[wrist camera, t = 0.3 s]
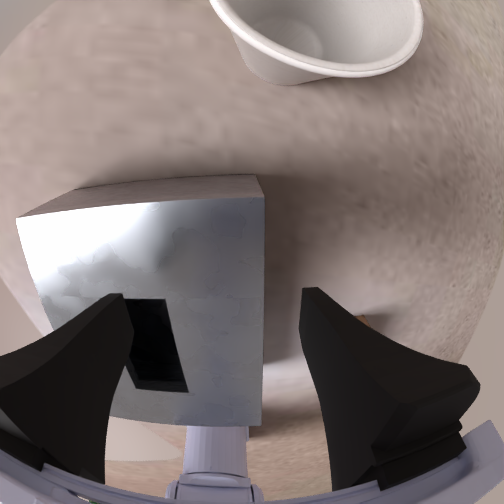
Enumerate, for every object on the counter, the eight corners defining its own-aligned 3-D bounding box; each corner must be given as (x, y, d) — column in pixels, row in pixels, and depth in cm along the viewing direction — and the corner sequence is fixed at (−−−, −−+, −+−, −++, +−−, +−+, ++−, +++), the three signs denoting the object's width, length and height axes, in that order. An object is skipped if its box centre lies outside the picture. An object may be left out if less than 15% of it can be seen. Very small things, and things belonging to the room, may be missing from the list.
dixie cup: (194, 53, 14) (153, -17, 5) (277, -15, 12) (306, -98, 3) (287, 129, 17) (342, 125, 8) (363, 57, 14) (453, 20, 5)
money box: (255, 366, 25) (261, 425, 19) (122, 362, 25) (103, 414, 18) (254, 174, 18) (264, 197, 12) (72, 190, 17) (15, 218, 11)
